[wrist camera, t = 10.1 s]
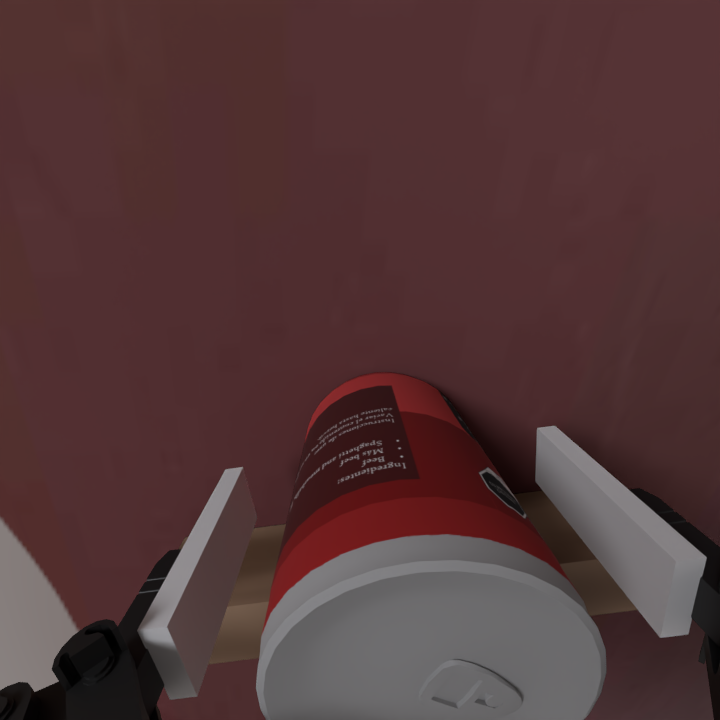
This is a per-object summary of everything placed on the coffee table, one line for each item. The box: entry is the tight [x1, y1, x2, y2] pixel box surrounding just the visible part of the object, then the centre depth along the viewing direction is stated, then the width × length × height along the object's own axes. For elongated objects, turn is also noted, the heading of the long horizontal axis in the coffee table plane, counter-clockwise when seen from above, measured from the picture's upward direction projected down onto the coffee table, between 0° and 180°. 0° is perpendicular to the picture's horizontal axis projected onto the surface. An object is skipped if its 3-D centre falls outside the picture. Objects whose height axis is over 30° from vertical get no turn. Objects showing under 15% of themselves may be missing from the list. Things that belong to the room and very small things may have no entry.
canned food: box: [256, 372, 606, 720], centre depth 13 cm, size 8×8×11 cm
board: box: [179, 491, 638, 664], centre depth 18 cm, size 4×24×4 cm, turn 97°
